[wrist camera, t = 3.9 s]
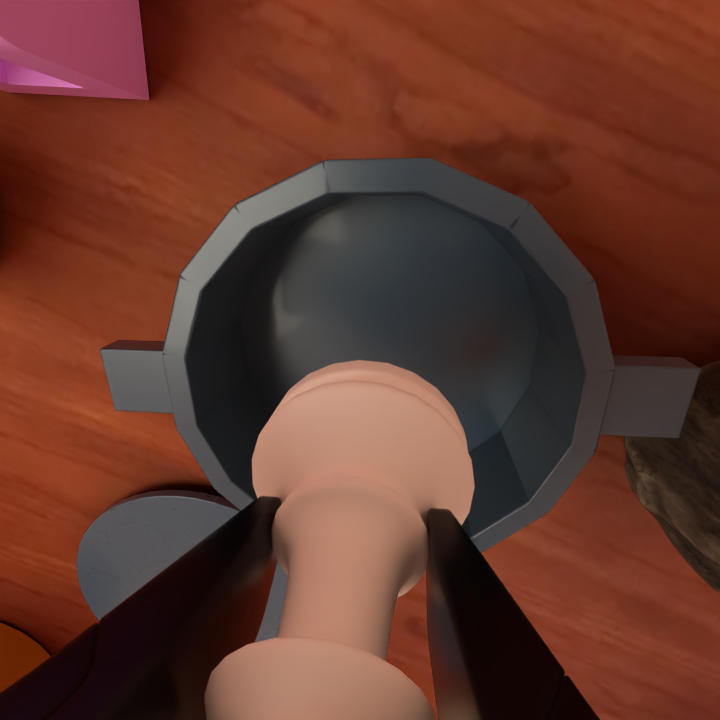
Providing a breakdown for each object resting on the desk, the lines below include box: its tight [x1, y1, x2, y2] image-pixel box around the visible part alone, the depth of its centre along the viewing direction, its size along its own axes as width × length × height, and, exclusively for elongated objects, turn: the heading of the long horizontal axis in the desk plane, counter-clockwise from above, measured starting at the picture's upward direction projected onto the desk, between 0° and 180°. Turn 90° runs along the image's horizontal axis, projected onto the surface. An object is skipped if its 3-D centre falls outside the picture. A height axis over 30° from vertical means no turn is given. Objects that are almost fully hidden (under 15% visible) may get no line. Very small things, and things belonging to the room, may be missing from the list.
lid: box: [77, 490, 288, 642], centre depth 21 cm, size 15×15×5 cm
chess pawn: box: [204, 360, 475, 720], centre depth 6 cm, size 5×5×9 cm
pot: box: [100, 158, 701, 553], centre depth 15 cm, size 14×19×5 cm
